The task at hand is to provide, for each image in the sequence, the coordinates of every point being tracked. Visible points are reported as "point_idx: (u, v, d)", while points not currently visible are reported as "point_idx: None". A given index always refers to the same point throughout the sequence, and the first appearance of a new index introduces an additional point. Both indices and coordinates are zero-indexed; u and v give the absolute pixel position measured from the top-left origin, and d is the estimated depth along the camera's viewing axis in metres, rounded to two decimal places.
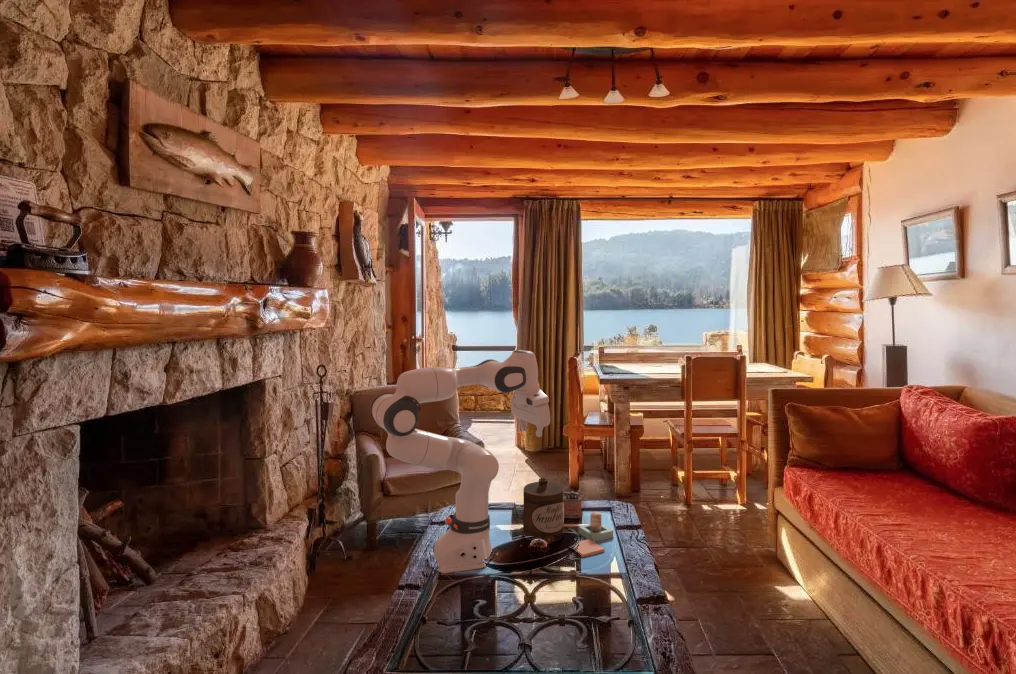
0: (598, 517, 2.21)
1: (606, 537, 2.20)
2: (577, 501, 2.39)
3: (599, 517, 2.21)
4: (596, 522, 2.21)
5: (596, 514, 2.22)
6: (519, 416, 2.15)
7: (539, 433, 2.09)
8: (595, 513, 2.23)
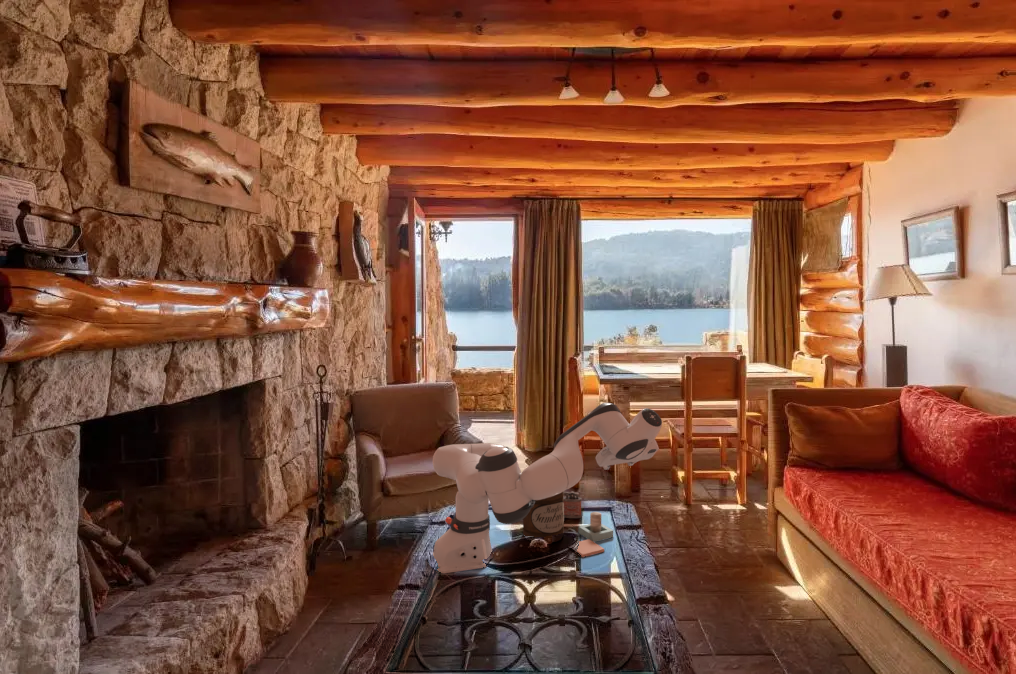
0: (598, 517, 2.21)
1: (606, 537, 2.20)
2: (577, 501, 2.39)
3: (599, 517, 2.21)
4: (596, 522, 2.21)
5: (596, 514, 2.22)
6: (614, 463, 1.99)
7: None
8: (595, 513, 2.23)
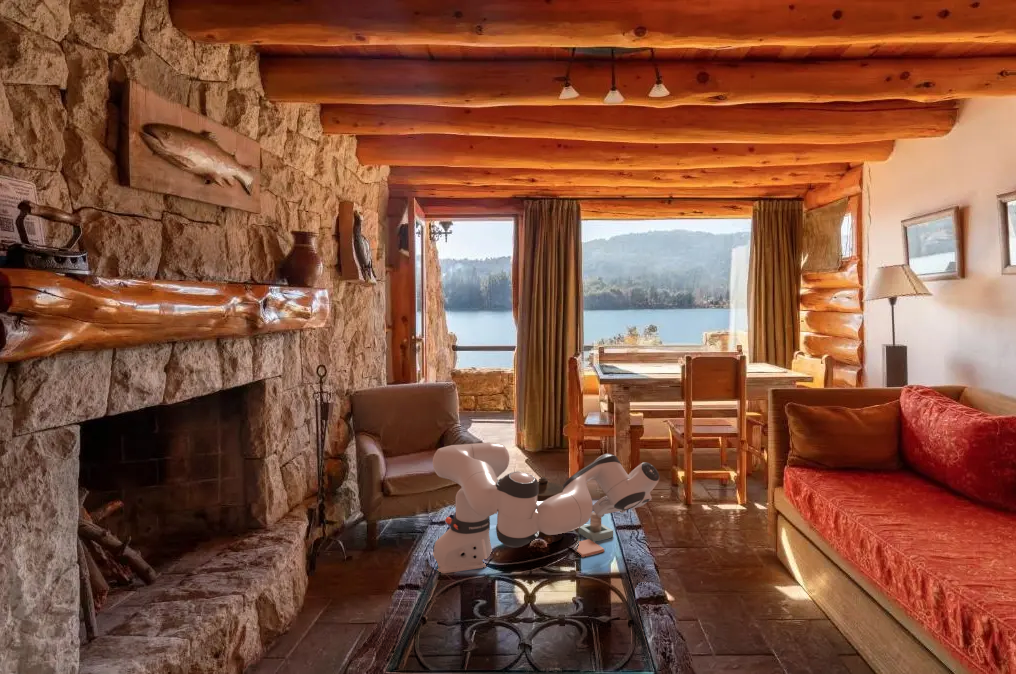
0: (598, 517, 2.21)
1: (606, 537, 2.20)
2: None
3: None
4: (596, 522, 2.21)
5: None
6: (610, 512, 2.09)
7: None
8: None
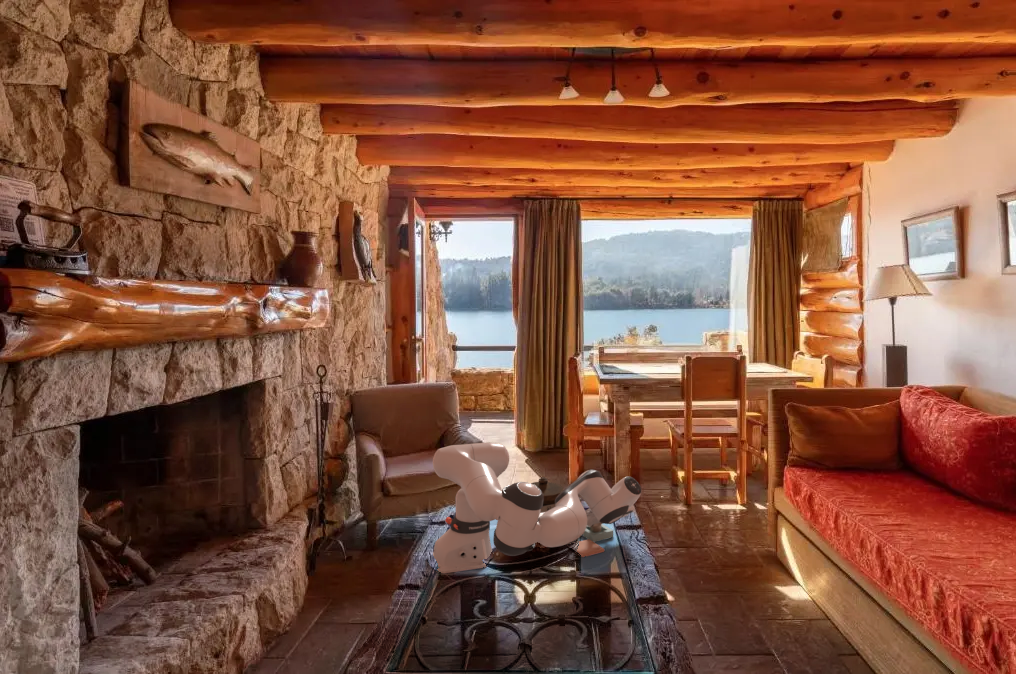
0: None
1: (606, 537, 2.20)
2: None
3: None
4: None
5: None
6: (595, 523, 2.16)
7: None
8: None
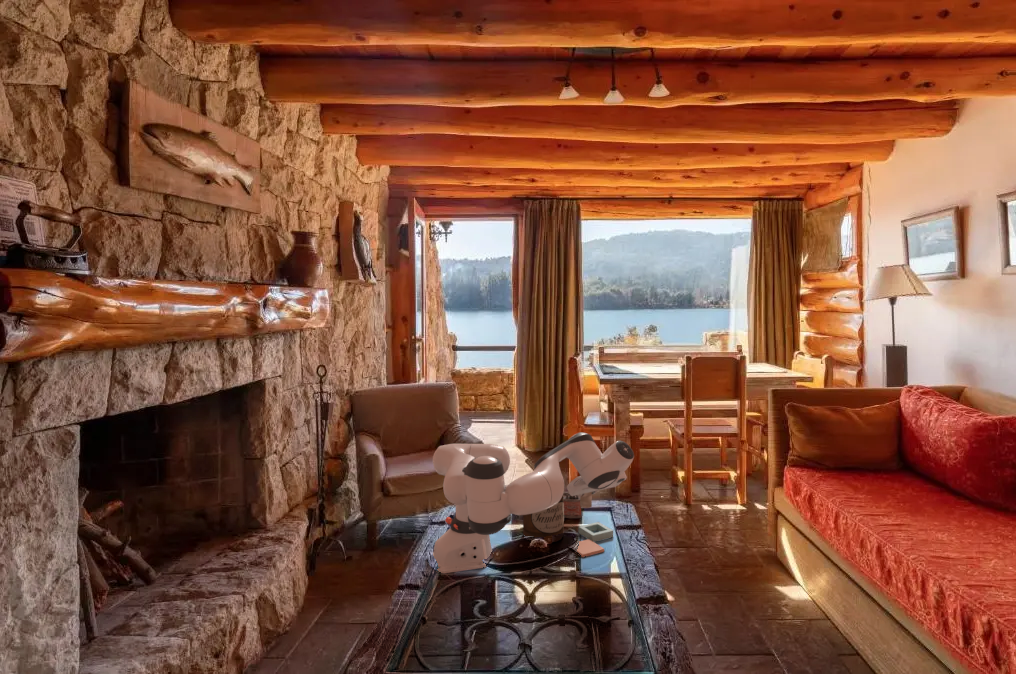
0: None
1: (606, 537, 2.20)
2: (577, 501, 2.39)
3: None
4: None
5: None
6: (585, 492, 2.05)
7: None
8: None
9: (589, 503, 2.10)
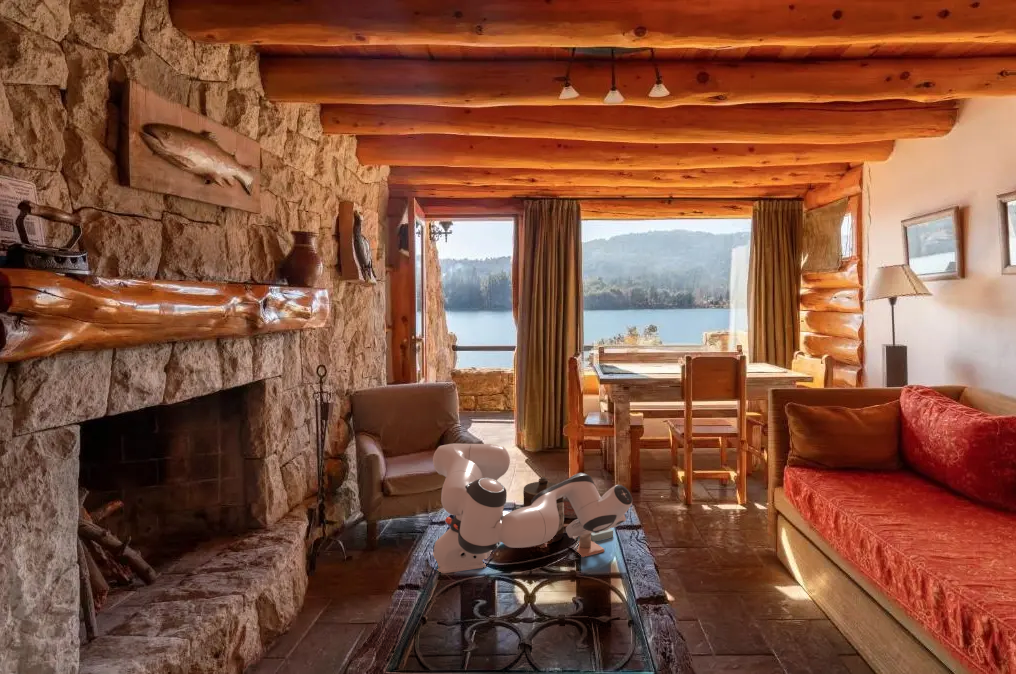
0: None
1: (606, 537, 2.20)
2: None
3: None
4: None
5: None
6: (583, 534, 2.05)
7: None
8: None
9: (588, 544, 2.10)
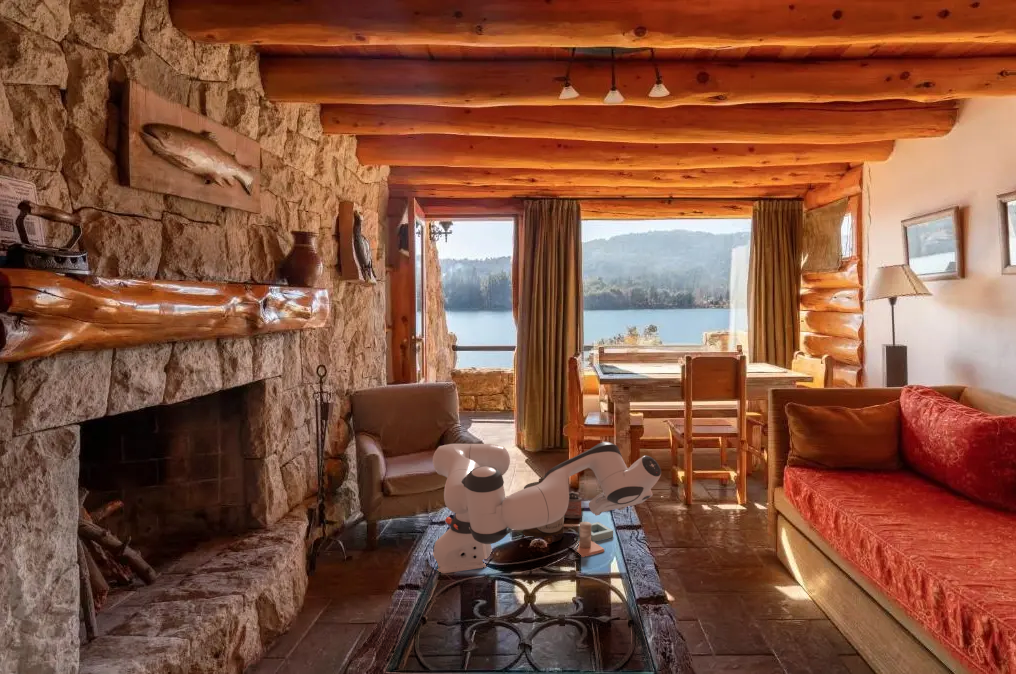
0: (587, 528, 2.09)
1: (606, 537, 2.20)
2: (577, 501, 2.39)
3: (588, 528, 2.09)
4: (585, 532, 2.09)
5: (586, 524, 2.10)
6: (607, 510, 1.92)
7: None
8: (585, 523, 2.11)
9: (588, 544, 2.10)
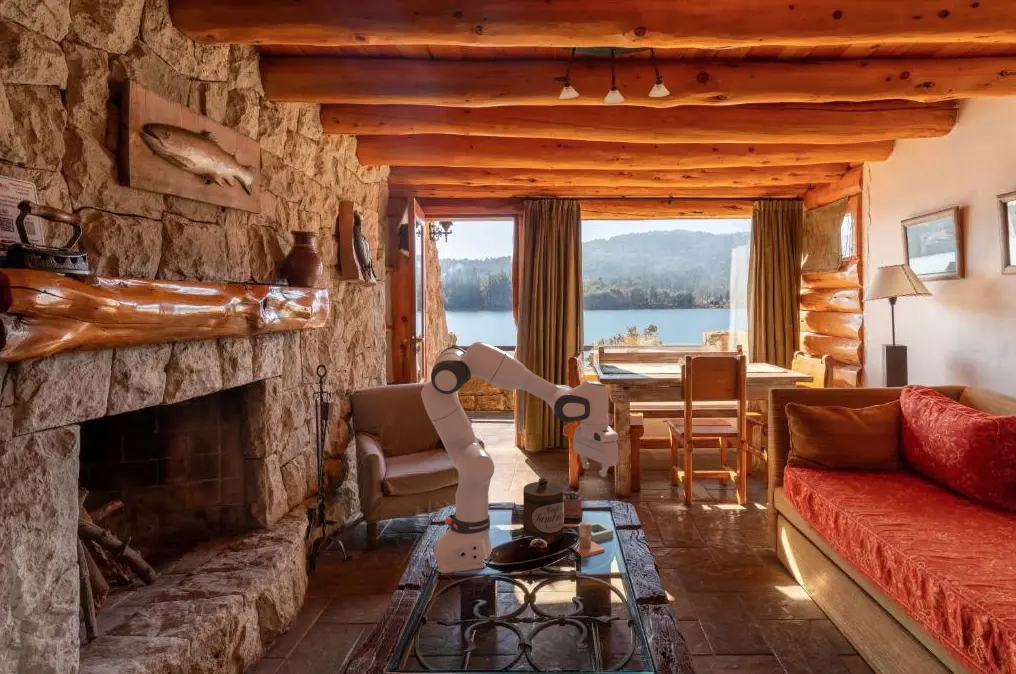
0: (587, 528, 2.09)
1: (606, 537, 2.20)
2: (577, 501, 2.39)
3: (588, 528, 2.09)
4: (585, 532, 2.09)
5: (586, 524, 2.10)
6: (582, 452, 2.00)
7: (603, 473, 1.93)
8: (585, 523, 2.11)
9: (588, 544, 2.10)
